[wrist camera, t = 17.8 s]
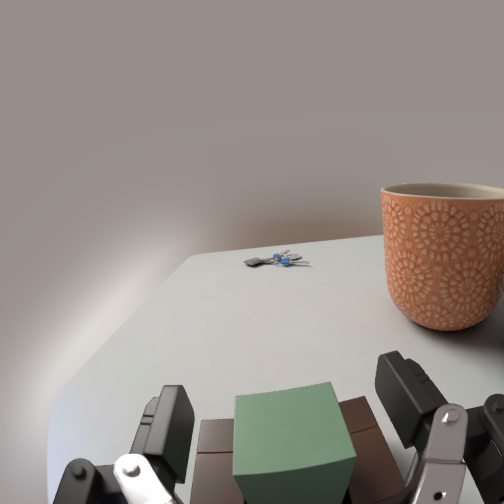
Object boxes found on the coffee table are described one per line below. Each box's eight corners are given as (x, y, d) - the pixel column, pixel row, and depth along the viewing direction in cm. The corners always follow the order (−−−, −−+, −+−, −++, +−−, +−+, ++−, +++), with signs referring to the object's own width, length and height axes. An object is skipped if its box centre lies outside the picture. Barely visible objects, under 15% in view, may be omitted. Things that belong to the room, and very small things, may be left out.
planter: (429, 274, 39) (430, 180, 34) (514, 307, 23) (528, 191, 19) (355, 309, 34) (350, 190, 30) (458, 372, 18) (487, 205, 14)
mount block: (397, 546, 6) (423, 530, 5) (209, 574, 6) (182, 567, 5) (357, 432, 16) (364, 395, 15) (216, 453, 16) (200, 419, 15)
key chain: (240, 267, 57) (239, 263, 56) (254, 254, 64) (253, 250, 64) (309, 265, 51) (308, 261, 51) (314, 252, 59) (314, 248, 59)
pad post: (333, 524, 9) (357, 456, 6) (266, 534, 9) (232, 475, 6) (323, 477, 13) (330, 380, 10) (263, 486, 13) (234, 395, 10)
